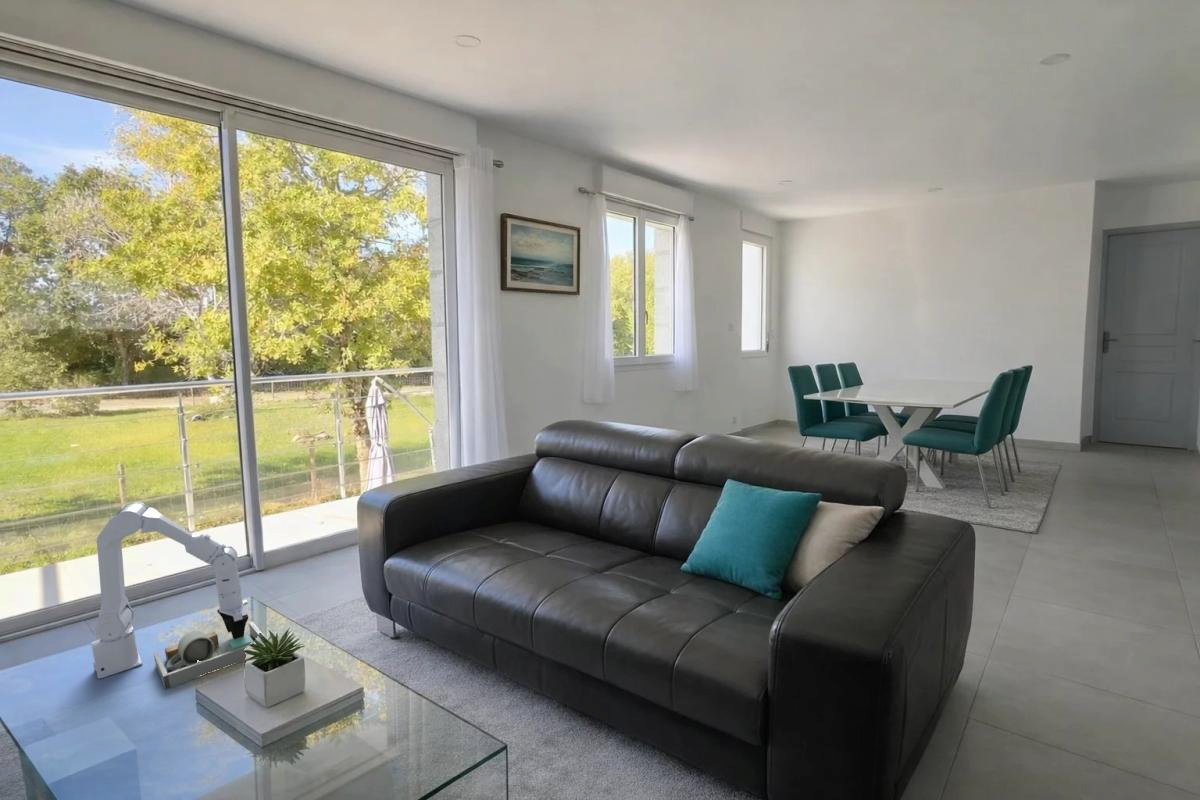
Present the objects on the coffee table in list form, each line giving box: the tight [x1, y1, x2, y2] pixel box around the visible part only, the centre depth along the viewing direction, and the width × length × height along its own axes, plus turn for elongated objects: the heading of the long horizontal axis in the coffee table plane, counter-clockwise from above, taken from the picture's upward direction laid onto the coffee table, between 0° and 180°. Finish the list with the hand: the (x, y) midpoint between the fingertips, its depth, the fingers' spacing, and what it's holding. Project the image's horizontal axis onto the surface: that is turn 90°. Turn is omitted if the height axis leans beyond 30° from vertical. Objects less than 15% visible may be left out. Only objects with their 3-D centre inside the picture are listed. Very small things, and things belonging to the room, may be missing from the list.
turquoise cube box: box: [228, 634, 254, 652], centre depth 178 cm, size 5×5×3 cm
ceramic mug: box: [165, 630, 216, 672], centre depth 172 cm, size 11×8×8 cm
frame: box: [153, 621, 263, 690], centre depth 174 cm, size 24×15×4 cm, turn 132°
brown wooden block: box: [164, 631, 220, 662], centre depth 178 cm, size 12×3×4 cm, turn 135°
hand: (235, 635), depth 183 cm, fingers open, 7 cm apart
